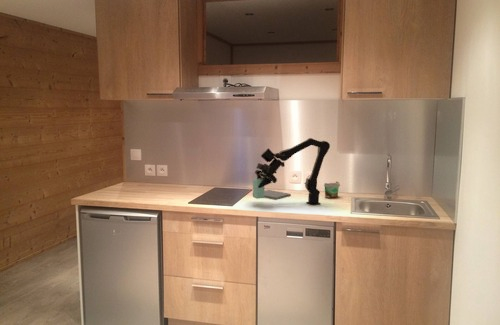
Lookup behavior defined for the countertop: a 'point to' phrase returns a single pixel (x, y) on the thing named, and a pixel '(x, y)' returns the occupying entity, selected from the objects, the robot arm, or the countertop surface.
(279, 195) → the mat
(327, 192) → the food container
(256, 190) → the block
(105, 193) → the countertop surface
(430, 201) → the countertop surface
